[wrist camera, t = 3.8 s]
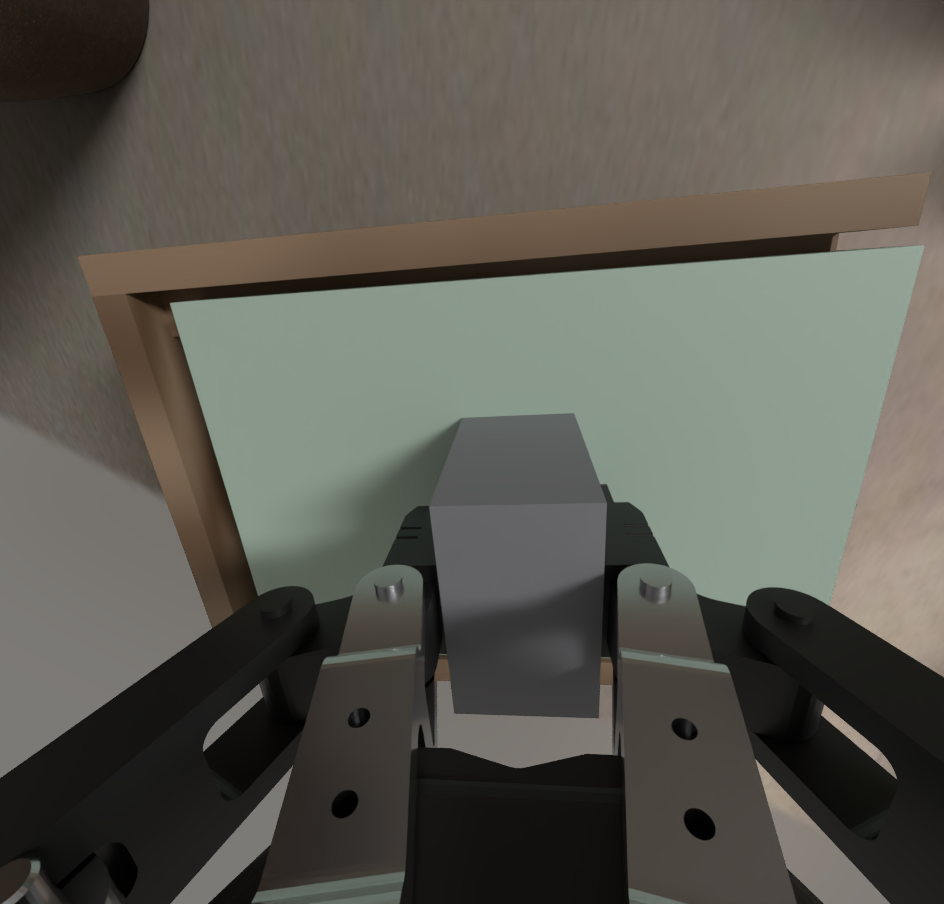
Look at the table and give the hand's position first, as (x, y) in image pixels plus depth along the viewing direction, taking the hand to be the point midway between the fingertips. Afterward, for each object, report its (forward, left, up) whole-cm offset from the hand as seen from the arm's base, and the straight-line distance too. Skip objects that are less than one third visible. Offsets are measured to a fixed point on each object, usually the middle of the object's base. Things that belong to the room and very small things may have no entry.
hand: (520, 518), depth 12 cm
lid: (0, 0, -2) cm, 2 cm away
